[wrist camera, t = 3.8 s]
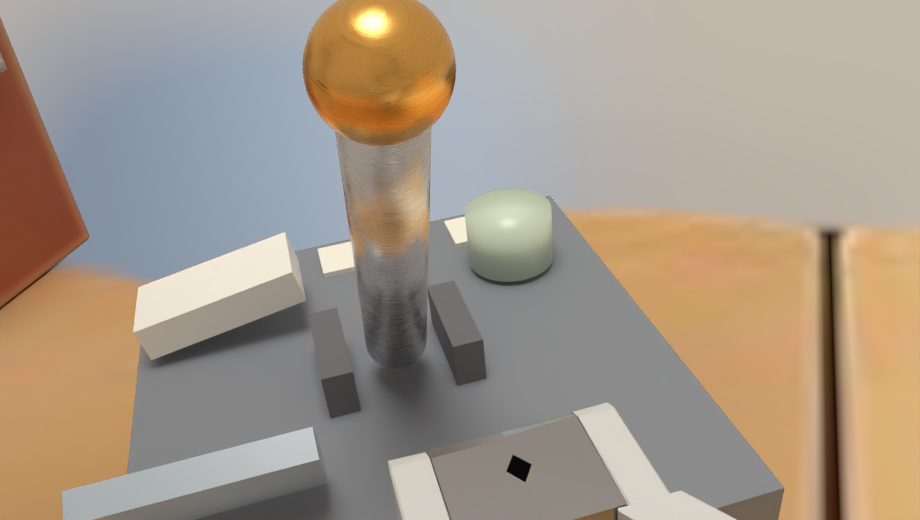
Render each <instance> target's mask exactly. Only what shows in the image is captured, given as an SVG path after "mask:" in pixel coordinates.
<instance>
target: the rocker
mask: <svg viewBox="0 0 920 520" xmlns="http://www.w3.org/2000/svg"><path fill="white" fill-rule="evenodd" d="M304 301H306V298H305V292H304V287H303V282H302V277H301V272H300V267H299V262H298V258H297V256H296V254H295V252H294V250H293V248H292V246H291V243H290V242H289V239H288V237H287V235H286V233H285V232H284V233H281V234H279V235H276V236H273V237H270V238H268V239H265V240H262V241H260V242H257V243H255V244H252V245H250V246H247V247H244V248H241V249H239V250H236V251H233V252H231V253H228V254H225V255H223V256H220V257H217V258H215V259H212V260H209V261H207V262H204V263H202V264H199V265H196V266H194V267H191V268H188V269H186V270H183V271H180V272H178V273H175V274H172V275H170V276H167V277H165V278H162V279H159V280H157V281H154V282H151V283H149V284H146V285H143V286H141V287H138V295H137V303H136V312H135V320H134V328H133V334H134V335H135V337H136V338H137V339H138V341H139V342H140V344H141V345H142V347H143V348H144V350H145V351H146V353H147V354H148V356H149V357H150V359H151V360H153V359H156V358H159V357H161V356H164V355H166V354H169V353H172V352H174V351H177V350H179V349H182V348H185V347H187V346H190V345H192V344H195V343H198V342H200V341H203V340H205V339H208V338H211V337H213V336H216V335H218V334H221V333H223V332H226V331H229V330H231V329H234V328H236V327H239V326H242V325H244V324H247V323H249V322H252V321H255V320H257V319H260V318H262V317H265V316H268V315H270V314H273V313H275V312H278V311H281V310H283V309H286V308H288V307H291V306H294V305H296V304H299V303H301V302H304Z"/></svg>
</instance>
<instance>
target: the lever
mask: <svg viewBox="0 0 920 520" xmlns="http://www.w3.org/2000/svg"><path fill="white" fill-rule="evenodd" d="M303 78H304V83H305V87H306V91H307V93H308V96H309V98H310V101H311V103H312V104H313V106H314V108H315V110H316V111H317V113H318V114H319V115H320V117H321V118H322V119H323V120H324V121H325V122H326V123H327V124H328V125H329V126H330V127H331V128H332V129H334V130H335V133H336V139H337V147H338V154H339V161H340V168H341V174H342V182H343V189H344V196H345V203H346V210H347V217H348V224H349V231H350V238H351V245H352V252H353V259H354V266H355V273H356V280H357V287H358V294H359V301H360V308H361V315H362V322H363V329H364V336H365V343H366V348H367V351H368V353H369V355H370V356H371V358H372V359H373V360H374V361H375V362H376V363H377V364H379V365H380V366H381V367H384V368H386V369H390V370H402V369H405V368H408V367H410V366H412V365H413V364H415V363H416V362H417V361H418V360H419V359H420V357H421V356H422V354H423V352H424V350H425V347H426V341H427V300H428V256H429V212H430V166H431V126H432V125H433V124H435V123H436V121H437V120H438V119H439V118H440V116H441V115H442V113H443V112H444V110H445V109H446V107H447V105H448V103H449V101H450V98H451V96H452V92H453V89H454V84H455V78H456V62H455V55H454V50H453V47H452V43H451V41H450V39H449V36H448V34H447V32H446V30H445V28H444V27H443V25H442V24H441V22H440V21H439V19H438V18H437V17H436V16H435V15H434V14H433V13H432V12H431V11H430V10H429V9H428V8H427V7H426V6H424V5H423V4H422V3H420V2H419V1H417V0H339V1H337V2H335V3H334V4H333V5H331V6H330V7H329V8H328V9H327V10H326V11H325V12H324V13H323V14H322V15H321V16H320V17H319V19H318V20H317V21H316V23H315V25H314V26H313V28H312V30H311V32H310V33H309V36H308V39H307V42H306V45H305V49H304V55H303Z"/></svg>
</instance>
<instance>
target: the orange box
mask: <svg viewBox="0 0 920 520" xmlns="http://www.w3.org/2000/svg"><path fill="white" fill-rule="evenodd" d="M88 238H89V234H88V231H87V229H86V226H85V225H84V222H83V219H82V217H81V214H80V212H79V210H78V207H77V205H76V202H75V200H74V197H73V195H72V192H71V190H70V188H69V185H68V182H67V180H66V178H65V175H64V173H63V170H62V168H61V165H60V163H59V161H58V158H57V155H56V153H55V150H54V148H53V146H52V143H51V141H50V138H49V136H48V133H47V131H46V128H45V126H44V123H43V121H42V119H41V116H40V114H39V111H38V109H37V106H36V104H35V102H34V99H33V97H32V94H31V92H30V89H29V87H28V84H27V82H26V79H25V77H24V74H23V72H22V70H21V67H20V65H19V62H18V60H17V57H16V55H15V52H14V50H13V47H12V45H11V43H10V40H9V38H8V35H7V33H6V30H5V28H4V26H3V23H2V20H1V18H0V307H2V306H3V305H4V304H6V303H7V302H8V301H9V300H11V299H12V298H13V297H15V296H16V295H17V294H18V293H20V292H21V291H22V290H24V289H25V288H26V287H27V286H29V285H30V284H31V283H33V282H34V281H35V280H36V279H38V278H39V277H40V276H42V275H43V274H44V273H45V272H47V271H48V270H49V269H51V268H52V267H53V266H54V265H56V264H57V263H58V262H60V261H61V260H62V259H63V258H65V257H66V256H67V255H69V254H70V253H71V252H72V251H74V250H75V249H76V248H78V247H79V246H80V245H81V244H82V243H84V242H85V241H87V240H88Z"/></svg>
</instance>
